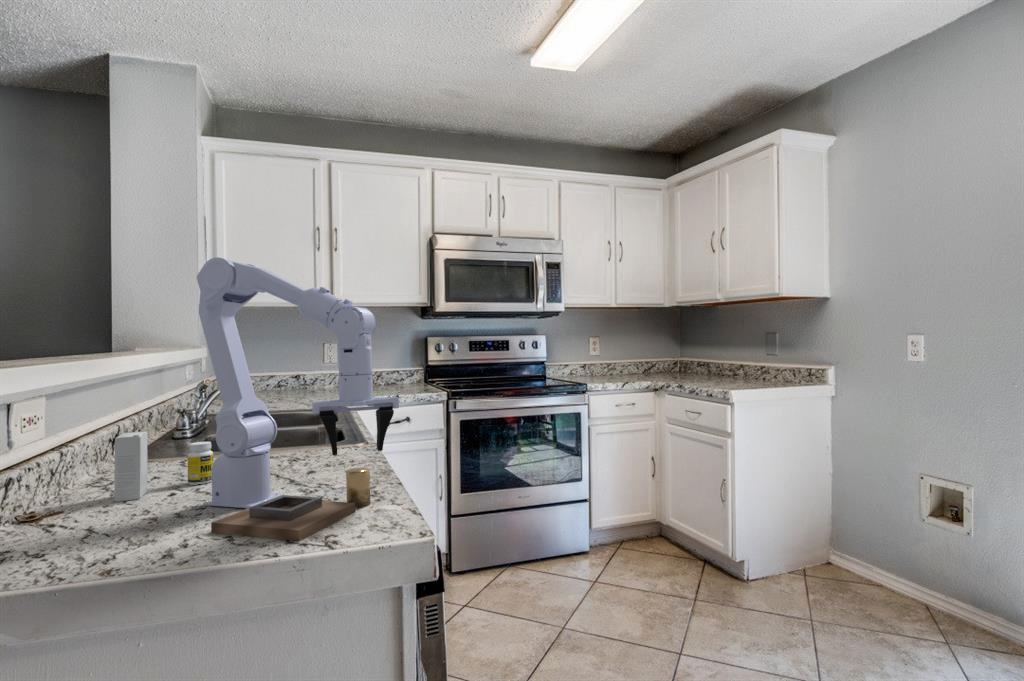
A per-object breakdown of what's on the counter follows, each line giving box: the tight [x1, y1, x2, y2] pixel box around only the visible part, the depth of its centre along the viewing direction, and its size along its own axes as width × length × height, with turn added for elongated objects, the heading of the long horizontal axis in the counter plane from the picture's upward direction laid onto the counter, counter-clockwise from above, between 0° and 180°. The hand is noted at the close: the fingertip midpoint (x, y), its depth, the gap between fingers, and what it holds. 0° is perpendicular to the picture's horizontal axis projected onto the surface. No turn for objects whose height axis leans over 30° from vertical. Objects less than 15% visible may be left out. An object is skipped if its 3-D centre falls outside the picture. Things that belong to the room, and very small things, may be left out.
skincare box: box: [114, 431, 148, 502], centre depth 105 cm, size 6×4×12 cm
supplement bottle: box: [187, 441, 214, 486], centre depth 116 cm, size 5×5×8 cm
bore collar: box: [249, 494, 323, 521], centre depth 87 cm, size 8×8×2 cm
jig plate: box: [210, 498, 357, 542], centre depth 87 cm, size 16×14×2 cm
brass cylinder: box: [345, 467, 371, 509], centre depth 96 cm, size 4×4×6 cm
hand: (357, 452), depth 96 cm, fingers open, 7 cm apart
